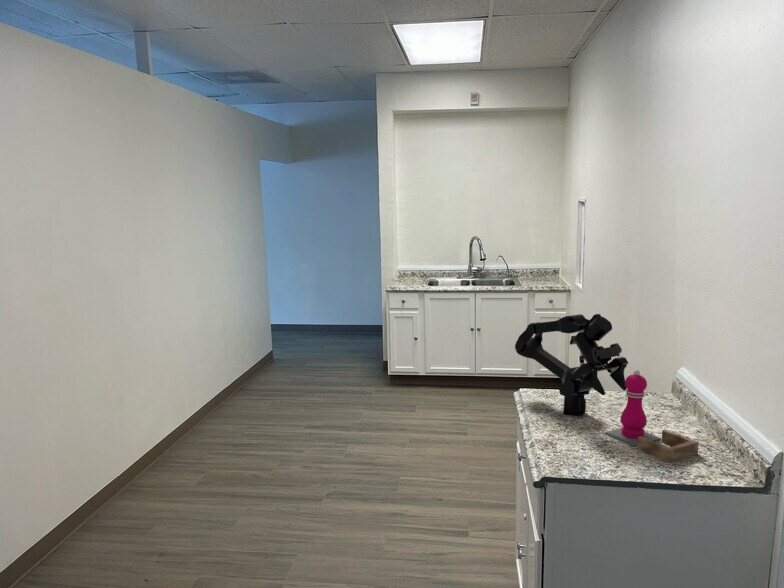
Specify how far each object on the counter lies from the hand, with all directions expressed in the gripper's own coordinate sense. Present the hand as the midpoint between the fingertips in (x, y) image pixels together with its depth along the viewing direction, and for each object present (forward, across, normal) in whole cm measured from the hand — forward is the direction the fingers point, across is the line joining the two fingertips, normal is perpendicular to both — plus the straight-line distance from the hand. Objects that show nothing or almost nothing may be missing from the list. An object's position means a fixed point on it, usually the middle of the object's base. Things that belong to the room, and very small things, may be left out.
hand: (614, 392), depth 184 cm
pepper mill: (+13, 0, +3) cm, 13 cm away
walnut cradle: (+21, 0, -5) cm, 22 cm away
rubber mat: (+14, 0, +3) cm, 14 cm away
